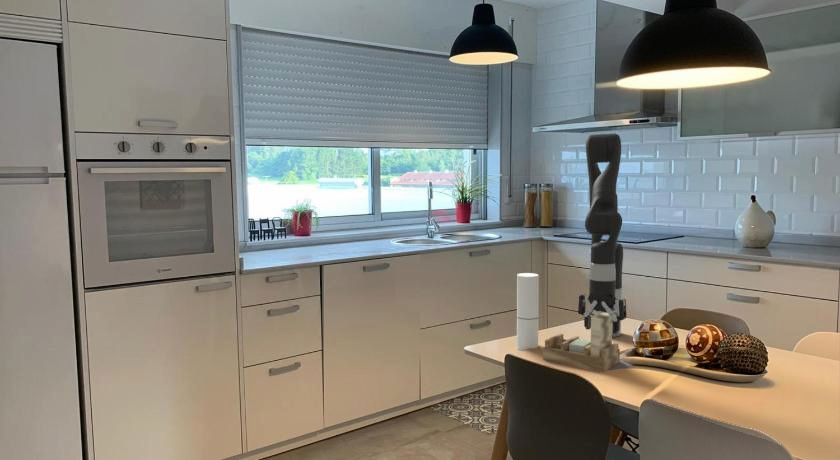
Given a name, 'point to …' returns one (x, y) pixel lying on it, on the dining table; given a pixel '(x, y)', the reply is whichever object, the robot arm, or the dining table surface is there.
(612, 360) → the rack
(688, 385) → the dining table surface
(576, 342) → the offcut upper
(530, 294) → the cylindrical container
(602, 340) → the beige mottled rectangular block
